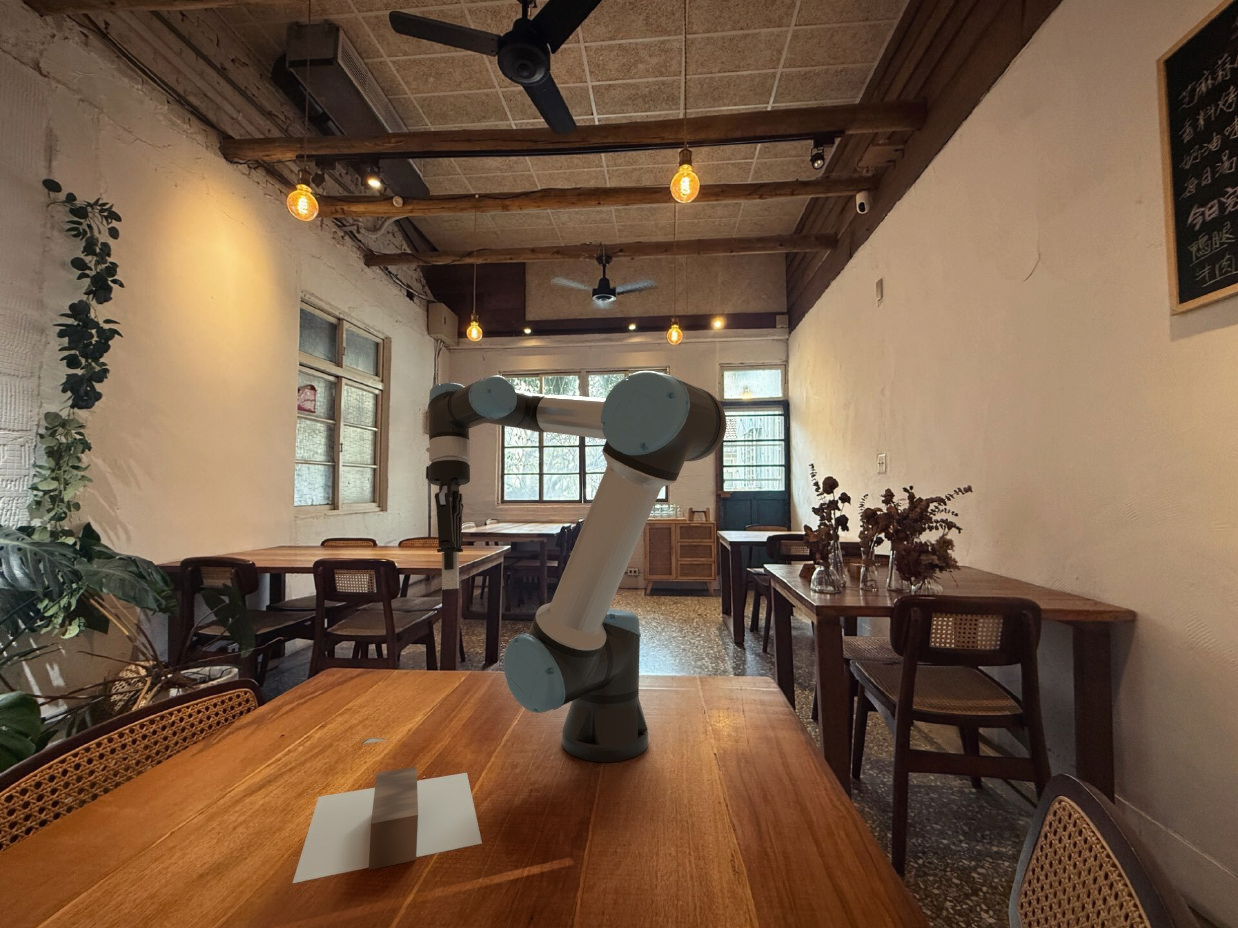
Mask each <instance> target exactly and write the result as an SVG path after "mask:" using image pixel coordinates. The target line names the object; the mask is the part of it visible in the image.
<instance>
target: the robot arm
mask: <svg viewBox="0 0 1238 928" xmlns="http://www.w3.org/2000/svg"><path fill="white" fill-rule="evenodd" d="M428 397H429V400H428V405H427V409H428V439H429V440H428V442H429V443H428V444H429V445H428V446H429V447H426V449H425V451H426V452H427V453H429V454H428V457H429V458H428V461H429V462H430V464H429V465H428V482H429V484H431V485H433V486H435V487H436V486H437V487H438V492H436V493H434V500H435V505H436V521H437V522H436V523H437V537H438V538H437V539H438V543H437V544H438V548H436V552H437V553H441V590H452V589H453V590H454V589H459V588H460V560H459V559H460V558H459V557H460V555H459V554H460V553H463V552H464V548H462V533H463V532H462V529H463V528H462V527H463V513H464V503H463V493H462V492H461V493H460V486H465V485H467V484H469V483H470V482H471V481H470V480H471V465H470V464H469V462H470V461H471V447H470V444H471V442H470V429H471V428H475V427H478V426H480V425H483V424H491V425H497V426H503V427H510V428H516V429H519V430H520V429H521V430H526V431H531V432H535V433H552V434H560V435H568V436H575V437H583V438H593V439H599V440H606V441H604V445H603V448H602V450H601V452H602V454H603V457H604V459H605V462H606V467H605V470H604V472H603V475H602V477H601V480H600V482H599V484H598V487H597V490H596V491H595V494H594V497H593V499H592V502H591V504H590V507H589V508H588V512H587V514H586V516H585V520H584V521H583V523H582V526H581V528H580V530H579V533H578V536H577V538H576V540H575V543H574V547H572V550H571V553H570V556H569V558H568V560H567V564H566V565H565V568H564V571H563V573H562V575H561V577H560V580H559V582H558V584H557V588H556V590H555V593H554V595H553V598H552V600H551V602H549V603H545V604H542V605H541V606H539V608H538V609H537V611H536V613H535V616H534V618H533V620H532V622H531V625H530V628H529V630H528V632H527V633H520V634H518V635H516V637H513V638H512V639H511V640H510V641H509V643H508V644H507V646H506V648H505V650H504V655H503V671H504V672H503V673H504V677H505V679H506V684H507V686H508V689H509V691H510V693H511V695H512V696H513V698H514V699H515V701H516V702H517V703H518V704H519V705H520V706H522V707H523V708H524V709H526V710H527V711H528V712H532V713H535V714H536V713H537V714H541V713H542V714H543V713H546V712H549V711H552V710H553V711H554V710H555V711H556V710H558V709H559V708H561V707H562V706H564V705H565V706H566V705H567V704H569V703H570V705H569V709H568V712H567V715H566V717H565V721H564V723H563V727H562V731H561V733H562V735H561V737H562V738H561V744H562V747H563V749H564V751H566V752H567V753H568V754H570V755H571V756H573V757H576V758H577V759H581V760H584V761H589V762H597V763H614V762H622V761H627V760H630V759H633V758H635V757H638V756H640V755H641V754H642V753H644V752H645V751H646V749H647V748H648V746H649V728H648V725H647V722H646V718H645V714H644V711H643V707H642V705H641V701H640V693H639V692H640V690H639V689H640V649H641V648H640V645H641V643H640V642H641V635H642V634H641V630H640V619H639V617H638V616H637V614H636V613H634V612H631V611H626V610H625V609H624V610H623V609H618V608H617V609H616V608H610V607H611V605H612V602H613V600H614V597H615V596H616V594H617V591H618V589H619V587H620V584H621V582H622V580H623V577H624V575H625V572H626V570H627V569H628V565H629V564H630V562H631V559H632V556H633V554H634V552H635V549H636V547H637V545H638V543H639V541H640V538H641V536H642V534H643V531H644V529H645V526H646V524H647V522H648V520H649V517H650V515H651V513H652V510H653V508H654V506H655V504H656V501H657V499H658V497H659V494H660V492H661V490H662V489H663V488H664V487H666V486H669V485H671V484H674V483H676V482H677V480H678V477H679V475H680V473H681V470H682V468H683V466H684V464H685V462H697V461H700V460H703V459H706V458H708V457H709V456H711V455H713V453H715V451H716V450H717V449H719V448H720V446H721V444H722V442H723V440H724V439H725V435H726V431H727V426H728V425H727V424H728V423H727V415H726V413H725V409H724V407H723V406H722V404H721V402H720V401H719V400H718V398H716V396H714V395H713V394H712V393H710V392H709V391H708V390H705V389H703V388H701V387H697V386H695V385H692V384H690V383H688V382H685V381H683V380H681V379H678V378H676V377H675V376H673V375H671V374H666V373H664V372H657V371H653V370H643V371H642V370H641V371H637V372H634V373H632V374H629V375H628V376H625V377H624V378H622V379H620V380H619V381H618V382H617V383H616V384H615V385H614V386H613V387H612V388H611V390H610V391H609V393H607V396H606V398H605V397H590V396H575V395H574V396H573V395H572V396H571V395H558V394H543V393H533V392H527V391H524V390H520V389H516V388H515V387H514V385H513V384H512V383H511V382H510V381H508V380H507V378H505V377H504V376H501V375H491V376H488V377H483V378H480V379H478V380H476V381H475V382H473V383H471V384H469V385H466V386H464V385H463V384H460V383H455V382H444V383H437V384H435V385H433V386H432V387H431V388H430V391H429V396H428ZM644 750H645V751H644Z"/></svg>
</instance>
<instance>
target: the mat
mask: <svg viewBox="0 0 1238 928" xmlns="http://www.w3.org/2000/svg"><path fill="white" fill-rule="evenodd" d="M374 792H375V787H370V788H365V789H364V788H363V789H359V790H352V791H345V792H339V793H334V794H328V795H323V796H318V797H317V800H316V805H315V807H314V811H313V814H312V817H311V821H310V823H309V824H310V825H309V828H308V831H307V835H306V836H305V837H306V838H305V840H304V843H303V847H302V850H301V855H300V857H299V860H298V864H297V867H296V870H295V874H294V876H293V880H292V884H297V883H298V884H299V883H302V882H307V881H312V880H317V879H321V878H327V877H331V876H336V875H341V874H344V873H349V872H354V871H359V870H364V869H369V851H370V830H371V818H372V809H373V801H374ZM417 794H418V829H417V852H416V858H420V857H424V856H431V855H434V854H435V855H436V854H440V853H445V852H449V851H453V850H458V849H463V848H467V847H471V846H477V845H482V844H483V842H482V837H481V833H480V828H479V822H478V818H477V814H476V809H475V804H474V799H473V796H472V795H473V794H472V791H471V786H470V781H469V776H468V772H463V773H458V774H451V775H445V776H444V775H443V776H438V777H432V778H425V779H420V780H417Z"/></svg>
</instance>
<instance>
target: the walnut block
mask: <svg viewBox="0 0 1238 928" xmlns="http://www.w3.org/2000/svg"><path fill="white" fill-rule="evenodd" d="M417 781H418V768H417V766H413V767H412V766H411V767H406V768H405V767H404V768H400V769H399V768H398V769H393V770H388V771H387V770H386V771H380V772H376V777H375V786H374V788H375V792H374V801H373V809H372V818H371V830H370V851H369V868H368V871H373V870H376V869H381V868H386V867H390V866H395V865H400V864H404V863H409V862H414V861H416V860H417V857H416V852H417V829H418V794H417Z"/></svg>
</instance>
